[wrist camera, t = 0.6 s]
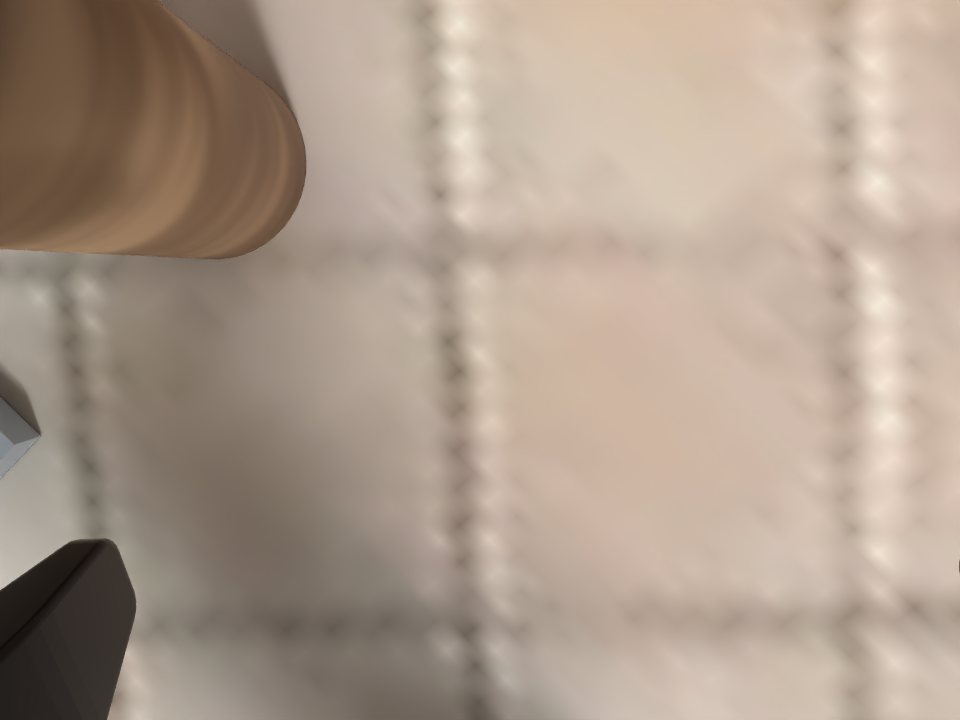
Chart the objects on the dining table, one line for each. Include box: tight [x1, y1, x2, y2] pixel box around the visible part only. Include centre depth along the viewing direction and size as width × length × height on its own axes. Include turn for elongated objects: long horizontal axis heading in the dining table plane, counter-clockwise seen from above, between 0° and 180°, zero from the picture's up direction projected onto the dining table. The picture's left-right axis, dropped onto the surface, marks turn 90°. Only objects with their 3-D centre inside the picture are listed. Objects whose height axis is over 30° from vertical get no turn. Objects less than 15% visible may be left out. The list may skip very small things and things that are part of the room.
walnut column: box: [0, 0, 306, 259], centre depth 15 cm, size 5×5×13 cm
